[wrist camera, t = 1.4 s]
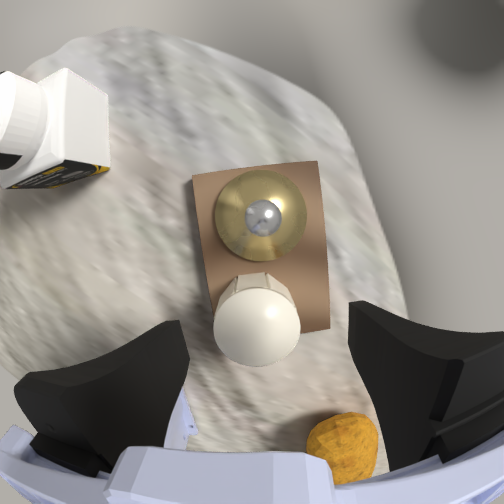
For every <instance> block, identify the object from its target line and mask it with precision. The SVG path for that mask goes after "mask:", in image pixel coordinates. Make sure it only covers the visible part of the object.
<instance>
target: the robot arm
mask: <svg viewBox="0 0 504 504" xmlns="http://www.w3.org/2000/svg"><path fill="white" fill-rule="evenodd" d="M348 345H349V349H350V352H351V355H352V358H353V361H354V363H355V366H356V368H357V370H358V372H359V374H360V376H361V378H362V380H363V382H364V384H365V387H366V389H367V391H368V393H369V395H370V397H371V399H372V402H373V404H374V407H375V410H376V414H377V417H378V420H379V424H380V428H381V431H382V435H383V439H384V444H385V448H386V453H387V458H388V463H389V470H390V472H388V473H385V474H382V475H378V476H375V477H371V478H367V479H363V480H359V481H355V482H350V483H345V484H340V485H334V483H333V477H332V471H331V469H330V467H329V465H328V463H327V462H326V460H324V459H321V458H318V457H315V456H312V455H309V454H306V453H303V452H289V451H262V452H207V451H191V450H186V446H187V442H188V437H189V435H197V434H198V429H197V426H196V423H195V421H194V418H193V415H192V412H191V410H190V407H189V404H188V401H187V398H186V395H185V392H184V389H183V384H184V381H185V378H186V375H187V371H188V366H189V361H190V357H189V354H188V350H187V347H186V343H185V340H184V336H183V333H182V329H181V325H180V322H179V320H174V321H165V322H163V323H161V324H159V325H157V326H155V327H154V328H152V329H150V330H149V331H147V332H145V333H144V334H142V335H141V336H139V337H137V338H136V339H134V340H132V341H130V342H129V343H127V344H125V345H123V346H122V347H120V348H118V349H116V350H114V351H112V352H110V353H108V354H105V355H103V356H101V357H98V358H96V359H93V360H90V361H87V362H84V363H81V364H78V365H74V366H70V367H66V368H61V369H55V370H48V371H38V372H29V373H27V374H26V375H25V376H24V377H23V378H22V379H21V380H20V381H19V382H18V383H17V384H16V385H15V386H14V394H15V398H16V400H17V403H18V404H19V406H20V408H21V409H22V411H23V412H24V414H25V415H26V417H27V418H28V420H29V421H30V422H31V424H32V425H33V426H34V428H35V429H36V431H37V432H38V433H37V435H36V436H35V437H34V436H33V435H32V434H30V433H29V432H27V431H25V430H24V429H21V428H20V427H18V426H16V425H12V426H11V428H10V429H9V430H8V431H7V433H6V434H5V435H4V436H3V437H2V439H1V440H0V476H1V477H2V478H3V479H4V480H5V481H6V482H7V483H9V484H10V485H11V486H12V487H13V488H14V489H15V490H16V491H17V492H18V493H20V494H21V495H22V496H23V497H25V498H26V499H27V500H29V501H30V502H32V504H489V503H490V502H492V501H493V500H495V499H496V498H497V497H499V496H500V495H501V494H503V493H504V332H503V331H501V332H486V333H470V332H469V333H468V332H456V331H449V330H443V329H437V328H433V327H429V326H425V325H421V324H418V323H415V322H412V321H410V320H407V319H404V318H402V317H399V316H397V315H395V314H392V313H390V312H388V311H386V310H384V309H382V308H379V307H377V306H375V305H373V304H371V303H368V302H366V301H363V300H362V301H356V302H349V327H348ZM191 425H192V426H191Z"/></svg>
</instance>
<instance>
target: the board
mask: <svg viewBox="0 0 504 504" xmlns="http://www.w3.org/2000/svg"><path fill="white" fill-rule="evenodd" d="M252 170H270V171H274V172H277V173H280V174H282V175H283V176H285V177H287V178H288V179H290V180H291V181H292V182H293V183H294V184H295V185H296V186H297V188H298V189H299V190H300V192H301V194H302V196H303V198H304V200H305V204H306V209H307V223H306V227H305V230H304V233H303V235H302V237H301V239H300V241H299V242H298V243H297V245H296V246H295V247H294V248H293V249H292V250H291V251H289V252H288V253H287V254H285V255H284V256H281V257H279V258H277V259H274V260H269V261H253V260H248V259H245V258H243V257H241V256H239V255H237V254H235V253H234V252H233V251H231V250H230V249H229V248H228V247H227V246H226V245H225V243H224V242H223V240H222V239H221V237H220V235H219V233H218V230H217V227H216V222H215V209H216V204H217V201H218V198H219V196H220V194H221V192H222V191H223V189H224V188H225V186H226V185H227V184H228V183H229V182H230V181H231V180H233V179H234V178H235V177H237V176H238V175H241V174H243V173H245V172H248V171H252ZM192 180H193V188H194V196H195V204H196V211H197V218H198V225H199V232H200V239H201V246H202V252H203V258H204V265H205V271H206V277H207V282H208V288H209V294H210V300H211V305H212V310H213V316H215V312H216V309H217V306H218V303H219V299H220V296H221V295H222V294H223V292H224V291H225V290H226V289H227V287H228V286H229V285H230V284H231V282H232V281H233V280H234V278H235V277H236V278H238V275H246V274H254V273H262V272H265V276H266V274H267V273H268V274H269V275H271V276H272V277H273V278H275V279H276V280H277V281H279V282H280V283H281V284H283V285H284V286H285V287H287V288H288V290H289V292H290V294H291V297H292V299H293V301H294V304H295V306H296V311H297V314H298V316H299V320H300V334H301V333H307V332H314V331H320V330H325V329H330V298H329V277H328V260H327V246H326V234H325V222H324V212H323V203H322V194H321V185H320V177H319V169H318V162H317V161H305V162H293V163H282V164H272V165H263V166H254V167H246V168H238V169H231V170H224V171H217V172H210V173H204V174H198V175H192Z"/></svg>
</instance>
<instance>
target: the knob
mask: <svg viewBox="0 0 504 504" xmlns="http://www.w3.org/2000/svg"><path fill="white" fill-rule="evenodd" d="M215 222H216V227H217V230H218V233H219V235H220V237H221V239H222V240H223V242H224V243H225V245H226V246H227V247H228V248H229V249H230V250H231V251H233V252H234V253H235V254H237V255H239V256H241V257H243V258H245V259H248V260H253V261H269V260H274V259H277V258H279V257H281V256H284V255H285V254H287V253H288V252H289V251H291V250H292V249H293V248H294V247H295V246H296V245H297V243H298V242H299V241H300V239H301V237H302V235H303V233H304V230H305V227H306V223H307V209H306V204H305V200H304V198H303V196H302V194H301V192H300V190H299V189H298V188H297V186H296V185H295V184H294V183H293V182H292V181H291V180H290V179H288V178H287V177H285V176H283V175H282V174H280V173H277V172H274V171H270V170H252V171H248V172H245V173H243V174H241V175H238V176H237V177H235V178H234V179H233V180H231V181H230V182H229V183H228V184H227V185H226V186H225V188H224V189H223V191H222V192H221V194H220V196H219V198H218V201H217V204H216V209H215Z"/></svg>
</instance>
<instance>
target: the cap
mask: <svg viewBox="0 0 504 504" xmlns="http://www.w3.org/2000/svg"><path fill="white" fill-rule="evenodd" d="M213 332H214V337H215V341H216V343H217V345H218V347H219V348H220V350H221V351H222V352H223V353H224V354H225V355H226V356H227V357H228V358H230V359H231V360H233V361H235V362H237V363H239V364H242V365H246V366H253V367H260V366H267V365H271V364H274V363H276V362H278V361H280V360H282V359H283V358H285V357H286V356H287V355H288V354H289V353H290V352H291V351H292V350H293V349H294V347H295V345H296V344H297V341H298V339H299V336H300V320H299V316H298V314H297V311H296V306H295V304H294V301H293V299H292V297H291V294H290V292H289V290H288V288H287V287H285V286H284V285H283V284H281V283H280V282H279V281H277V280H276V279H275V278H273V277H272V276H271V275H269V274H268V273H267V274H266V276H265V272H262V273H254V274H246V275H238V278H236V277H235V278H234V280H233V281H232V282H231V284H230V285H229V286H228V287H227V289H226V290H225V291H224V292H223V294H222V295H221V296H220V299H219V303H218V306H217V309H216V312H215V316H214V325H213Z"/></svg>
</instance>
